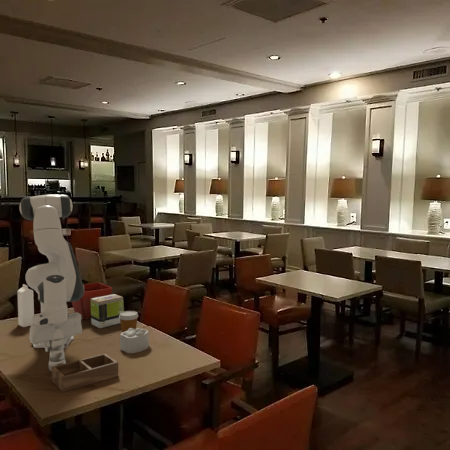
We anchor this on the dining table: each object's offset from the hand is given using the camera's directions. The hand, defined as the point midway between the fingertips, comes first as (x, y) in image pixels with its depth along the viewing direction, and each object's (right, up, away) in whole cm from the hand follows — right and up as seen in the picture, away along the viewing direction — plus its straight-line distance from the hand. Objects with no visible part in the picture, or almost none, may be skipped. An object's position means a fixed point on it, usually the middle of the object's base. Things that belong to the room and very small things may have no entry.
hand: (56, 349), depth 178 cm
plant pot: (-10, -2, +76) cm, 77 cm away
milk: (-39, -4, +58) cm, 70 cm away
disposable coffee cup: (+20, -6, +42) cm, 47 cm away
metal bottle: (0, -9, +1) cm, 9 cm away
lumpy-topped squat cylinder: (+27, -7, +27) cm, 39 cm away
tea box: (+4, -4, +62) cm, 62 cm away
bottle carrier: (+14, -10, -6) cm, 18 cm away
